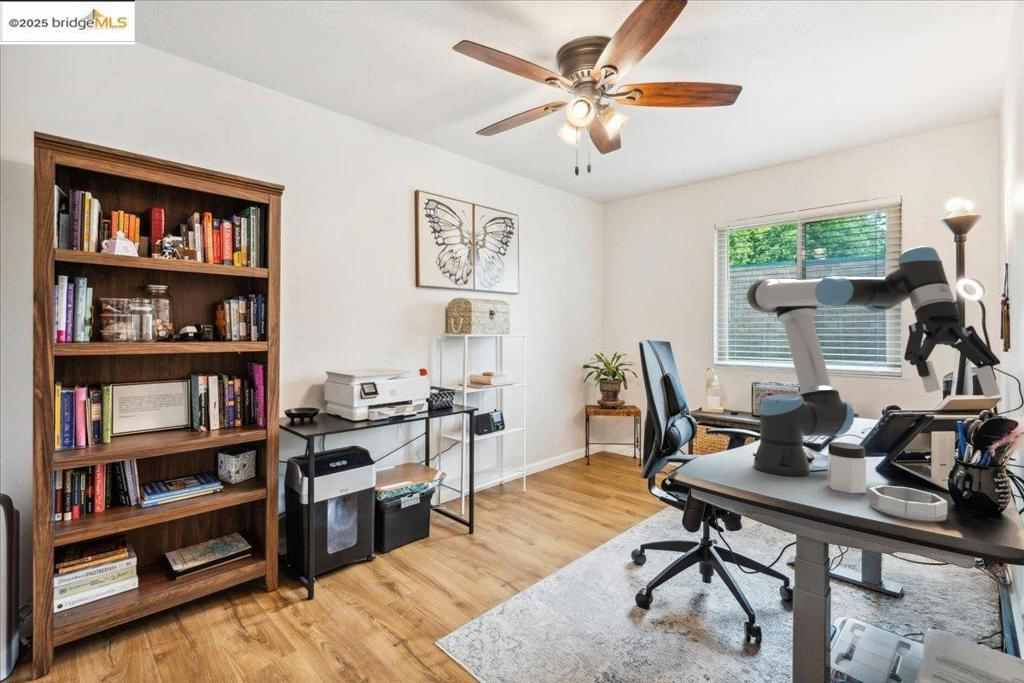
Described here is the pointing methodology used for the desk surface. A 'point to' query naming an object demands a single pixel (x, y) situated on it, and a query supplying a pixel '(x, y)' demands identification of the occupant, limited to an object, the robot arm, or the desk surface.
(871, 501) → the grey octagonal tray
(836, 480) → the jar
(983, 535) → the desk surface
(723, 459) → the desk surface
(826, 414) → the robot arm
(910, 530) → the desk surface
